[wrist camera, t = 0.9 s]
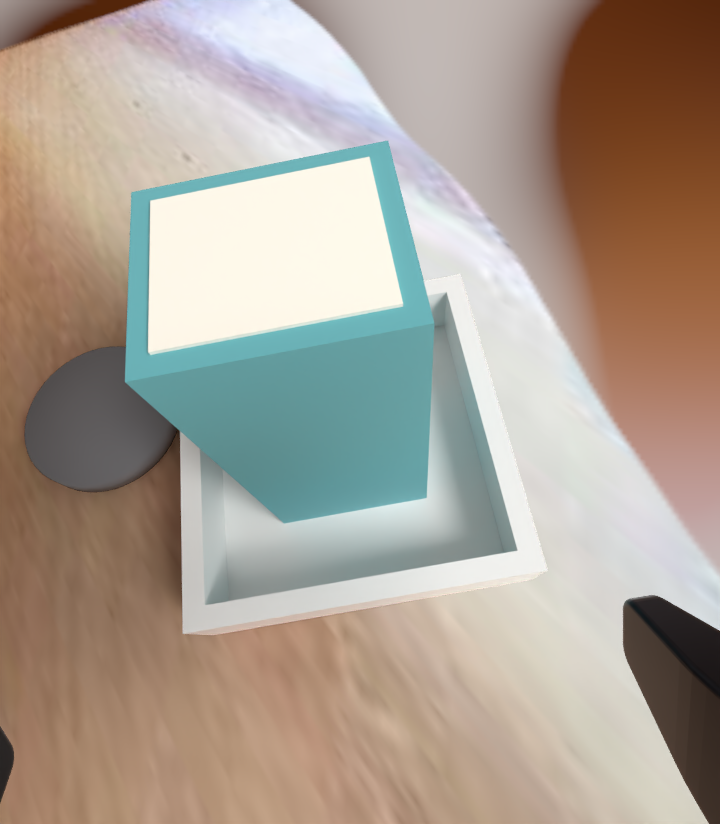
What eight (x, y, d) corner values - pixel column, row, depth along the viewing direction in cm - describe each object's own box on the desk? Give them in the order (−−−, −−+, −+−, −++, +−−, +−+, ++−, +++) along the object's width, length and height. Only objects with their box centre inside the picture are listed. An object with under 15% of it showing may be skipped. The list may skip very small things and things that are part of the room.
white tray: (530, 580, 20) (547, 570, 18) (213, 635, 21) (182, 633, 18) (456, 313, 26) (460, 273, 23) (203, 361, 26) (178, 327, 23)
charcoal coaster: (181, 477, 24) (172, 470, 23) (31, 504, 24) (16, 499, 23) (180, 345, 27) (171, 334, 26) (46, 370, 27) (32, 361, 26)
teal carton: (426, 497, 22) (434, 320, 10) (284, 523, 22) (122, 379, 10) (403, 390, 24) (387, 137, 12) (274, 415, 24) (129, 189, 12)
